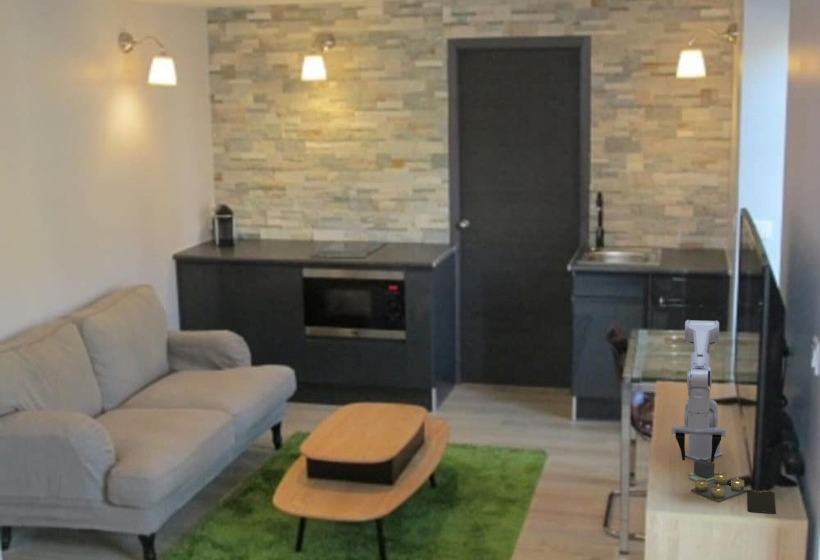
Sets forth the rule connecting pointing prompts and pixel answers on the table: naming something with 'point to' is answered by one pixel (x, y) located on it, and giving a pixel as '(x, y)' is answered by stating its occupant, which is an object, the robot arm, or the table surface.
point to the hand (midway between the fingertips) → (697, 460)
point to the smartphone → (761, 502)
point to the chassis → (719, 487)
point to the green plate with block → (703, 470)
